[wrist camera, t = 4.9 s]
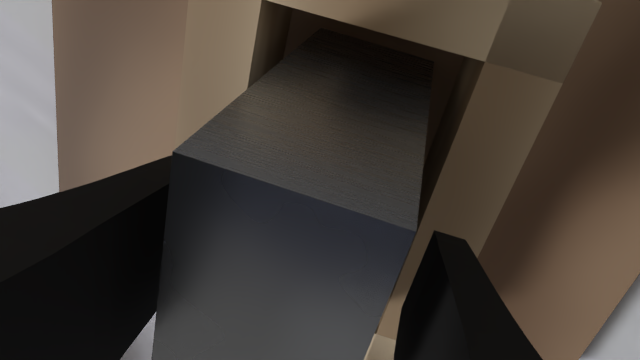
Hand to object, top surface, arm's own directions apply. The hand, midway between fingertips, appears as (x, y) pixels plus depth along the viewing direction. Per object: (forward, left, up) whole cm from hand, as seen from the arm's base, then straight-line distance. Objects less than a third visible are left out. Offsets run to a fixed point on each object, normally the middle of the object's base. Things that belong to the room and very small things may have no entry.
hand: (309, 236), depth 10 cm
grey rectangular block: (0, 0, -5) cm, 5 cm away
